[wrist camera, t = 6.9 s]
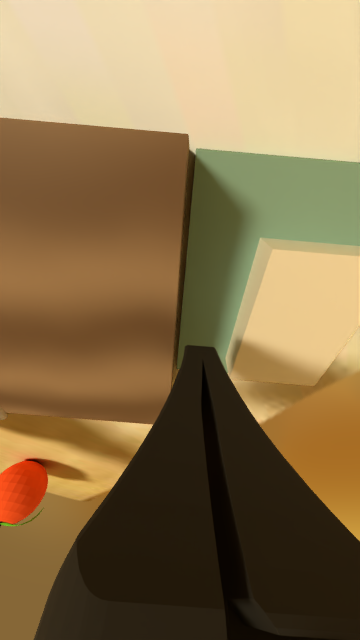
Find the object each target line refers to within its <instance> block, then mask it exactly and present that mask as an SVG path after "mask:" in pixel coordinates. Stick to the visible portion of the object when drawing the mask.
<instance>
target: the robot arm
mask: <svg viewBox="0 0 360 640" xmlns="http://www.w3.org/2000/svg"><path fill="white" fill-rule="evenodd" d="M7 416H8V415H7V414H6V413H5V412H4V410H3V409H2V408H1V407H0V420H5V419H6V418H7ZM34 640H360V541H359V540H358V539H357V538H356V537H355V536H354V535H353V534H352V533H351V532H350V531H349V530H348V529H347V528H346V527H345V526H344V525H343V524H342V523H341V522H340V520H339V519H338V518H337V517H336V516H335V515H334V514H333V513H332V512H331V511H330V510H329V509H328V508H327V507H326V505H325V504H324V503H323V502H322V501H321V500H320V499H319V498H318V496H317V495H316V494H315V493H314V492H313V491H312V490H311V489H310V488H309V486H308V485H307V484H306V483H305V482H304V480H303V479H302V478H301V477H300V476H299V475H298V473H297V472H296V471H295V470H294V469H293V467H292V466H291V465H290V464H289V463H288V462H287V461H286V459H285V458H284V457H283V456H282V454H281V453H280V452H279V451H278V449H277V448H276V447H275V445H274V444H273V443H272V441H271V440H270V439H269V438H268V436H267V435H266V434H265V432H264V431H263V429H262V428H261V427H260V425H259V424H258V422H257V421H256V420H255V418H254V417H253V415H252V414H251V412H250V411H249V409H248V408H247V406H246V404H245V403H244V401H243V400H242V398H241V397H240V395H239V393H238V392H237V390H236V388H235V386H234V385H233V383H232V381H231V379H230V377H229V376H228V374H227V372H226V370H225V368H224V366H223V364H222V362H221V360H220V358H219V355H218V353H217V351H216V349H215V348H214V347H207V346H194V345H187V346H185V349H184V356H183V360H182V364H181V367H180V370H179V372H178V375H177V377H176V380H175V383H174V385H173V387H172V389H171V391H170V394H169V396H168V398H167V400H166V402H165V404H164V406H163V408H162V410H161V412H160V414H159V416H158V417H157V419H156V421H155V423H154V425H153V426H152V428H151V430H150V431H149V433H148V435H147V436H146V438H145V440H144V441H143V443H142V445H141V446H140V448H139V449H138V451H137V453H136V454H135V456H134V457H133V459H132V460H131V462H130V463H129V465H128V466H127V468H126V469H125V471H124V472H123V473H122V475H121V476H120V478H119V479H118V481H117V482H116V484H115V485H114V487H113V488H112V489H111V491H110V492H109V494H108V495H107V496H106V498H105V499H104V500H103V502H102V503H101V505H100V506H99V507H98V509H97V510H96V511H95V513H94V514H93V515H92V517H91V518H90V519H89V521H88V522H87V524H86V525H85V526H84V528H83V529H82V530H81V532H80V533H79V535H78V536H77V538H76V541H75V542H74V544H73V546H72V548H71V549H70V551H69V553H68V555H67V557H66V559H65V561H64V563H63V565H62V567H61V568H60V570H59V573H58V575H57V577H56V579H55V582H54V584H53V586H52V589H51V591H50V594H49V596H48V599H47V602H46V605H45V608H44V611H43V614H42V617H41V620H40V623H39V626H38V629H37V632H36V635H35V638H34Z"/></svg>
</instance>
